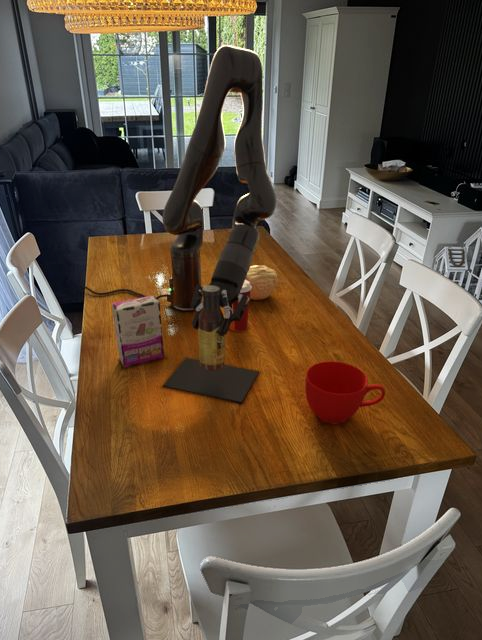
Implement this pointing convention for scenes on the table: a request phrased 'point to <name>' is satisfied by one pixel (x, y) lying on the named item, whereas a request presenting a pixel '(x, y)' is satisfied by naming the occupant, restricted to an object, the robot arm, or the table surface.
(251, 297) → the sculpture
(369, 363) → the table surface
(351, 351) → the table surface
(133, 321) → the candy bar box
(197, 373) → the placemat
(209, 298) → the sauce bottle
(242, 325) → the paper cup
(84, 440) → the table surface
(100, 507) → the table surface
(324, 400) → the ceramic cup
